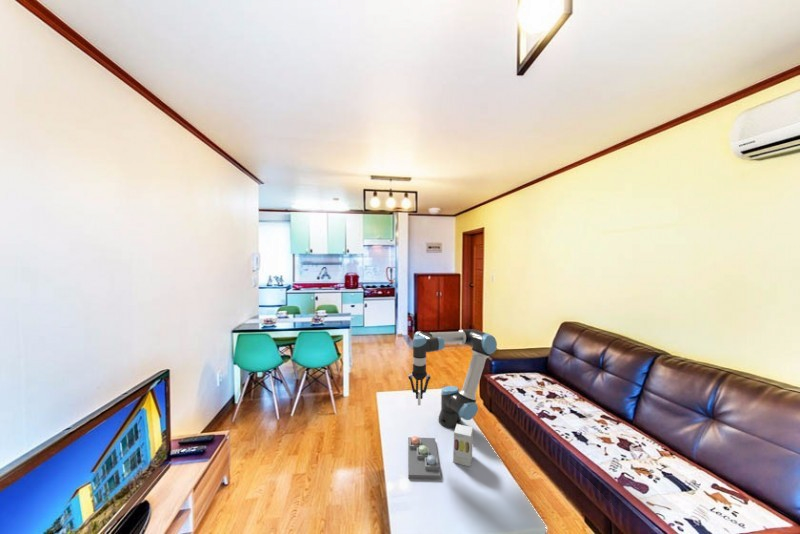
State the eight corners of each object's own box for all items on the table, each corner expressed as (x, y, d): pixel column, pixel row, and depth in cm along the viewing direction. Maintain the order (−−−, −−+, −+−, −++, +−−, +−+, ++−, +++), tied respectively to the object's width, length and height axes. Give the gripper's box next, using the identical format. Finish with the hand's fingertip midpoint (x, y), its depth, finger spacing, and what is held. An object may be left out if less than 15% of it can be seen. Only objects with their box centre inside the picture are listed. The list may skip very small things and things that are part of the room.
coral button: (418, 442, 173) (418, 436, 173) (419, 447, 168) (419, 441, 168) (411, 442, 173) (411, 436, 173) (411, 446, 169) (411, 440, 168)
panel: (434, 441, 178) (434, 435, 177) (440, 479, 148) (440, 472, 147) (408, 440, 178) (408, 434, 178) (408, 478, 148) (408, 471, 148)
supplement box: (452, 462, 160) (453, 432, 159) (455, 451, 168) (455, 423, 167) (470, 467, 156) (471, 436, 155) (472, 455, 165) (473, 426, 164)
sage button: (426, 451, 165) (426, 445, 165) (427, 456, 160) (427, 450, 160) (418, 451, 165) (418, 445, 165) (419, 456, 160) (419, 450, 160)
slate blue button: (435, 461, 157) (435, 455, 157) (435, 467, 152) (435, 461, 152) (426, 461, 157) (426, 455, 157) (427, 467, 152) (427, 461, 152)
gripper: (430, 361, 172) (429, 401, 173) (408, 361, 172) (407, 400, 173) (431, 366, 164) (430, 407, 166) (408, 366, 165) (407, 407, 166)
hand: (419, 404), depth 170 cm, fingers closed
